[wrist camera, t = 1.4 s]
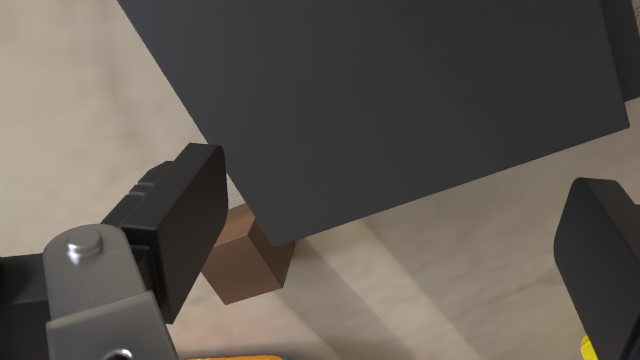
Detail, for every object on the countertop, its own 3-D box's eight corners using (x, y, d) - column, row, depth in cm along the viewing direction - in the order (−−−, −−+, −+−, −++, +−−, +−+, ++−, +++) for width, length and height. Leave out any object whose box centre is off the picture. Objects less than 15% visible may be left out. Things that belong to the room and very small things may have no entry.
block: (211, 216, 35) (188, 255, 31) (265, 195, 34) (247, 233, 30) (243, 263, 37) (225, 305, 33) (295, 245, 36) (283, 287, 32)
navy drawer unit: (484, -200, 22) (537, -260, 14) (558, 57, 27) (630, 127, 19) (200, -33, 27) (113, -4, 19) (306, 157, 32) (274, 248, 24)
